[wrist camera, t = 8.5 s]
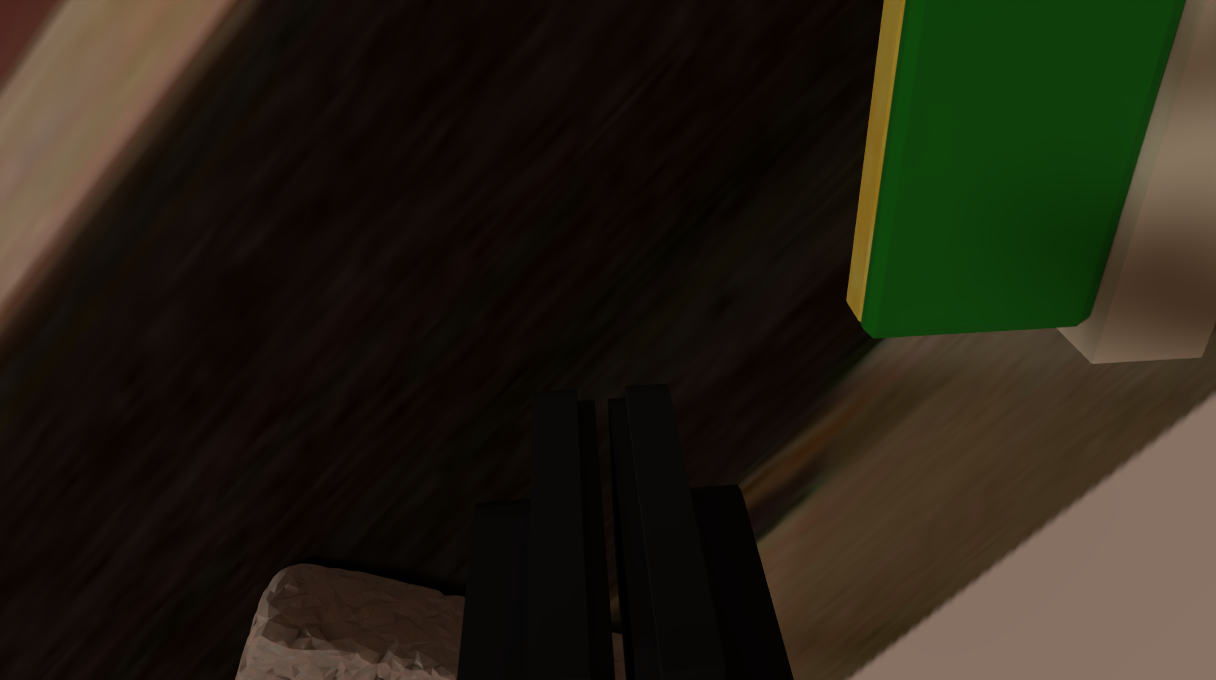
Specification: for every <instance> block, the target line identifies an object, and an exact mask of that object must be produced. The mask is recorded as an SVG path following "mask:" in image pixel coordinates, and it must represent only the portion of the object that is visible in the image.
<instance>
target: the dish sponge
mask: <svg viewBox="0 0 1216 680" xmlns="http://www.w3.org/2000/svg"><path fill="white" fill-rule="evenodd" d="M1184 4H1185V0H884V6H883V14H882V22H881V30H880V38H879V46H878V54H877V61H876V69H875V77H874V85H873V93H872V101H871V109H870V117H869V125H868V133H867V141H866V149H865V157H864V165H863V173H862V181H861V189H860V197H859V205H858V213H857V221H856V229H855V237H854V245H853V253H852V261H851V269H850V277H849V285H848V293H847V302H848V304H849V306H850V307H851V309H852V311H853V312H854V314H855V316H856V317H857V319H858V320H859V321H860V322H861V326H862V327H863V329H864V330H865V331H866V332H867V333H868V334H869V335H870V336H871V337H873V338H888V337H906V336H923V335H940V334H957V333H975V332H992V331H1009V330H1026V329H1043V328H1061V327H1076V326H1078V325H1079V324H1080V323H1082V322H1083V321H1084V320H1086V319H1087V318H1088V317H1090V314H1091V311H1092V307H1093V304H1094V301H1095V297H1096V294H1097V291H1098V288H1099V284H1100V281H1101V278H1102V274H1103V271H1104V268H1105V264H1106V261H1107V258H1108V255H1109V251H1110V248H1111V245H1112V241H1113V238H1114V235H1115V231H1116V228H1117V225H1118V222H1119V218H1120V215H1121V212H1122V208H1123V205H1124V202H1125V198H1126V195H1127V192H1128V189H1129V185H1130V182H1131V179H1132V175H1133V172H1134V169H1135V165H1136V162H1137V159H1138V155H1139V152H1140V149H1141V146H1142V142H1143V139H1144V136H1145V132H1146V129H1147V126H1148V122H1149V119H1150V116H1151V113H1152V109H1153V106H1154V103H1155V99H1156V96H1157V93H1158V89H1159V86H1160V83H1161V80H1162V76H1163V73H1164V70H1165V66H1166V63H1167V60H1168V56H1169V53H1170V50H1171V47H1172V43H1173V40H1174V37H1175V33H1176V30H1177V27H1178V23H1179V20H1180V17H1181V14H1182V10H1183V7H1184Z"/></svg>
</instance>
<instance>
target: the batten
mask: <svg viewBox="0 0 1216 680" xmlns="http://www.w3.org/2000/svg"><path fill="white" fill-rule="evenodd" d="M1215 323H1216V0H1185V4H1184V7H1183V10H1182V14H1181V17H1180V20H1179V23H1178V27H1177V30H1176V33H1175V37H1174V40H1173V43H1172V47H1171V50H1170V53H1169V56H1168V60H1167V63H1166V66H1165V70H1164V73H1163V76H1162V80H1161V83H1160V86H1159V89H1158V93H1157V96H1156V99H1155V103H1154V106H1153V109H1152V113H1151V116H1150V119H1149V122H1148V126H1147V129H1146V132H1145V136H1144V139H1143V142H1142V146H1141V149H1140V152H1139V155H1138V159H1137V162H1136V165H1135V169H1134V172H1133V175H1132V179H1131V182H1130V185H1129V189H1128V192H1127V195H1126V198H1125V202H1124V205H1123V208H1122V212H1121V215H1120V218H1119V222H1118V225H1117V228H1116V231H1115V235H1114V238H1113V241H1112V245H1111V248H1110V251H1109V255H1108V258H1107V261H1106V264H1105V268H1104V271H1103V274H1102V278H1101V281H1100V284H1099V288H1098V291H1097V294H1096V297H1095V301H1094V304H1093V307H1092V311H1091V314H1090V317H1088V318H1087V319H1086V320H1084V321H1083V322H1082V323H1080V324H1079V325H1078V326H1076V327H1061V328H1057V329H1058V330H1059V331H1060V332H1061V333H1062V334H1063V335H1064V336H1065V337H1066V338H1067V339H1068V340H1069V341H1070V342H1071V343H1072V344H1073V345H1074V346H1075V347H1076V348H1077V349H1078V350H1079V351H1080V352H1081V353H1082V354H1083V355H1084V356H1085V357H1086V358H1087V359H1088V360H1089V361H1090V362H1091V363H1092V364H1097V363H1114V362H1132V361H1149V360H1167V359H1184V358H1201V357H1202V356H1203V353H1204V351H1205V348H1206V346H1207V343H1208V341H1209V338H1210V336H1211V333H1212V331H1213V328H1214V326H1215Z"/></svg>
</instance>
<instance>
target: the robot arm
mask: <svg viewBox="0 0 1216 680" xmlns="http://www.w3.org/2000/svg"><path fill="white" fill-rule="evenodd" d="M608 410H609V432H610V454H611V476H612V498H613V519H614V541H615V559H616V573H617V585H618V596H619V608H620V619H621V631H622V642H623V653H624V665H625V676H626V680H794V679H793V675H792V672H791V668H790V664H789V661H788V657H787V653H786V650H785V646H784V643H783V639H782V635H781V632H780V628H779V625H778V621H777V617H776V614H775V610H774V606H773V603H772V599H771V596H770V592H769V588H768V585H767V581H766V577H765V574H764V570H763V567H762V563H761V559H760V556H759V552H758V548H757V545H756V541H755V538H754V534H753V530H752V527H751V523H750V519H749V516H748V512H747V509H746V505H745V501H744V498H743V495H742V492H741V489H740V488H739V486H738V485H726V486H711V487H697V488H689V483H688V478H687V473H686V468H685V464H684V459H683V454H682V449H681V444H680V439H679V434H678V429H677V424H676V419H675V414H674V409H673V404H672V399H671V394H670V390H669V386H668V384H654V385H639V386H625V387H624V398H618V399H608ZM457 680H615V666H614V652H613V638H612V625H611V612H610V599H609V586H608V572H607V559H606V546H605V533H604V520H603V507H602V494H601V480H600V467H599V454H598V441H597V428H596V415H595V402H594V400H587V401H577V390H562V391H547V392H534V393H533V408H532V448H531V488H530V499H523V500H509V501H494V502H480V503H477V504H476V506H475V510H474V516H473V525H472V535H471V545H470V555H469V565H468V574H467V584H466V594H465V604H464V613H463V623H462V633H461V643H460V653H459V662H458V672H457Z"/></svg>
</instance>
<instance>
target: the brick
mask: <svg viewBox="0 0 1216 680" xmlns="http://www.w3.org/2000/svg"><path fill="white" fill-rule="evenodd" d="M464 604H465V597H462V596H458V595H451V596H445V595H444V594H442V593H441V592H440V591H438V590H435V589H431V588H426V587H422V586H418V585H413V584H407V583H404V582H400V581H397V580H393V579H388V578H384V577H380V576H376V575H372V574H368V573H364V572H359V571H348V570H344V569H340V568H327V567H323V566H319V565H314V564H297V565H294V566H290V567H287V568H285V569H283V570H281V571H279V572H278V573H277V574H276V575H275V577H274V578H273V579H272V581H271V583H270V584H269V586H268V588H267V589H266V590H265V591H264V592H263V595H262V597H261V600H260V602H259V605H258V610H257V612H256V614H255V616H254V619H253V623H252V627H251V632H250V635H249V637H248V639H247V642H246V645H245V648H244V651H243V654H242V658H241V661H240V665H239V669H238V672H237V676H236V678H235V680H457V672H458V662H459V653H460V643H461V633H462V623H463V613H464ZM612 638H613V652H614V666H615V680H626V676H625V665H624V653H623V642H622V634H618V633H613V632H612Z"/></svg>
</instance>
